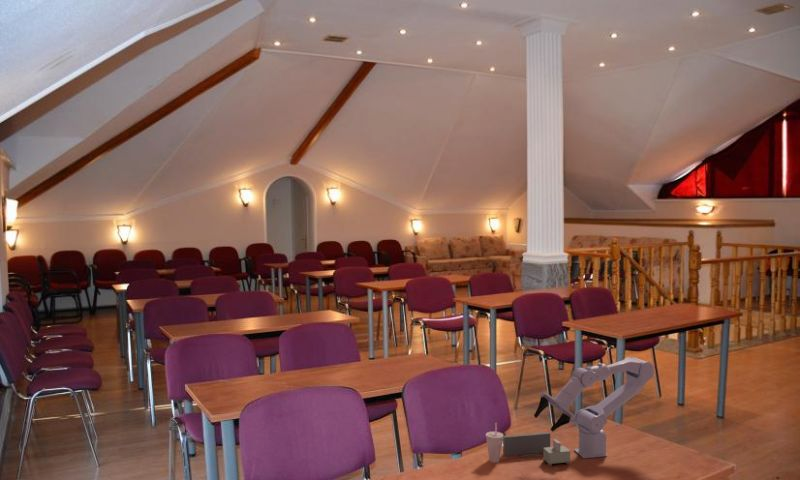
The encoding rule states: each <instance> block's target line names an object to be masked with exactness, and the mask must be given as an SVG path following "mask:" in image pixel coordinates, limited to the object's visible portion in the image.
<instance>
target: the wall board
mask: <svg viewBox="0 0 800 480" xmlns="http://www.w3.org/2000/svg"><path fill="white" fill-rule="evenodd" d="M502 444H503V445H502V447H503V448H502V455H503V456H504V457H507V456H508V457H509V456H518V455H519V456H520V458H522V459H525V457H526V458H534V457H540V453H543V448H546V447H551V432H549V431H544V432H534V433H523V434H521V433H520V434H513V435H503V439H502Z"/></svg>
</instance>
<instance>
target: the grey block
mask: <svg viewBox="0 0 800 480" xmlns="http://www.w3.org/2000/svg"><path fill="white" fill-rule="evenodd" d="M542 454H543V457H542V459H543V460H542V461H543V463H547V466H548V467H549V468H551V467H552V466H553V465H554V464H563V463H565V465H566V466H567V465H568V466H569V465H570V462H571V450H570V449H569V448H567V447H566V446H565V445H561V442H560V441H559V440H558V439H556V438H555V439H553V440H552V446H550V447H546V448H543V452H542Z"/></svg>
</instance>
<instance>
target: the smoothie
mask: <svg viewBox="0 0 800 480" xmlns="http://www.w3.org/2000/svg"><path fill="white" fill-rule="evenodd" d="M494 424H495V425H494V427H495V428H494V431H487V432H486V433H485V438H486V445H487V453H488V460H489V462H491V463H495V464H496V463H499V462H500V461H501V460H500V459H501V452H502V446H503V445H502V444H503V436H504V434H503V433H502V432H500V431H497V430H498V423H497V422H495V423H494Z"/></svg>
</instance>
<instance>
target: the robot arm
mask: <svg viewBox="0 0 800 480" xmlns="http://www.w3.org/2000/svg"><path fill="white" fill-rule="evenodd" d="M654 369H655V367H654V365H653V363H652V362H649V361H646V360H642V359H640V358H637V357H636V356H629V357H628V356H627V357H625V358H624V359H622V360H619V361H615V362H613V363H611V364H608V365H606V364H605V363H602V362H597V363H596V365H591V366H586V367H585V368H583V367H577V368H576V369H573V371H572V373H571V376H570V378H569V379H568V382H567V383H566V384H565V385H564V386H563V387H562V389H560V391H559V392H558V393H557V394H556V395H555V396H554V397H552V396H551V395H550V394H548V393H547V392H545V390H544V391H542V392H541V393H540V399H539V403H538V405H537V406H538V407H537V409H536V411H535V413H534V415H533V416H534V418H536V419H537V418H538V417H539V416H540V414H541V413H542V412H543V411H544V410H545V409H546V408H547V407H549V406H550V405H551V406H552V407H554V408H555V409H556V410H557V411H559V412H560V413H561V415H560V416H559V418H558V419H557V421H556V422H555V423H554V424H553V425H552V426H551V427H550V431H551V432H552V433H553V432H554V431H556V430H557V429H559V428H561V427H562V426H564V425H567V424H569V423H570V421H571V422H572V423H573V422H574V421H575V423H576V425H577V428H578V448H574V449H573V451H575V452H576V454H578V455H580V457H581V458H583V459H589V458H590V459H591V458H600V457H601V458H602V457H608V455H607V435H606V433H605V431H604V430H603V428H604V426H605V425H607V424H608V416H610V415H612V414H613V413H614V412H615V411H616V410H618V409H619V408H620V407H621V406H623V405H624V404H626V403H627V402H628V401H629V400H631V399H632V398H633V397H635V396H636V395H637V394H638V393H640V392H641V391H642V389H643V388H644V386H646V384H647V382H649V381H650V380H651V379H653V377H654V374H655V373H654V372H655V370H654ZM620 373H624V374H625V380H626V382H625V383H624V384H621V386H619V387H618V388H617V389H616V390H614V391H613V392H611V393H610V394H609V395H607V396H606V397H605V398H603V399H602V400H601V401H600V402H599V403H597V404H595V405H588V406H586V407H585V408H581V409H579V410H578V411H577V412H576V413H575V414H573V413H572V412H571V411H570V410H569V407H570V406H571V404H572V403H573V402H574V401H576V399H577V398H578V397H579V395H580V394H581V393H582V392H583V391H584V390H585V389H586V388H588V387H592V386H593V385H594V384H595V383H597V382H600V381H604V380H608V379H609V377H610V376H611V375H615V374H620Z"/></svg>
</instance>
